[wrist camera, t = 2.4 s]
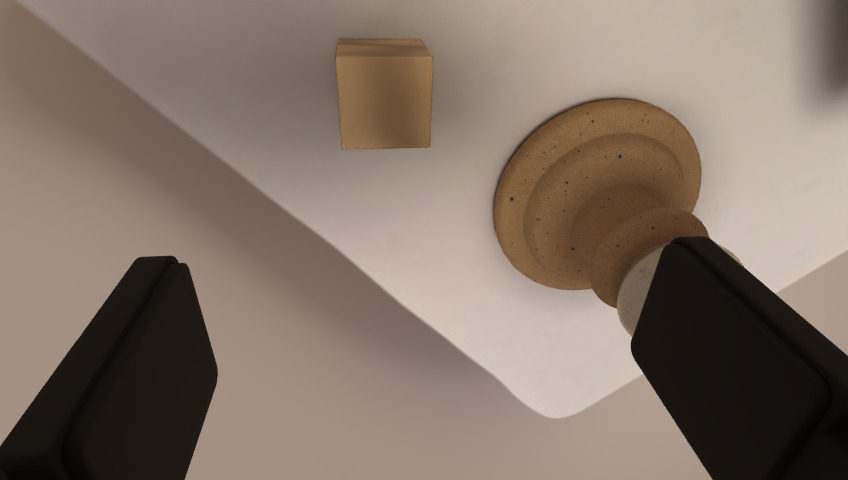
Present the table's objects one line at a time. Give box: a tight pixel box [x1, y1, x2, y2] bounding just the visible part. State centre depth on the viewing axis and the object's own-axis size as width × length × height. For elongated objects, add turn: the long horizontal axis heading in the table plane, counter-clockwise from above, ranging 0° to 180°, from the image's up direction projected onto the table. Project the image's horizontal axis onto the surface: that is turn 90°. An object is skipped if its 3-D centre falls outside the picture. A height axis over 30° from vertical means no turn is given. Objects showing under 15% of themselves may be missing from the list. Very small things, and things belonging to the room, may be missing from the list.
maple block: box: [335, 39, 433, 149], centre depth 22 cm, size 4×4×4 cm
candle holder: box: [494, 99, 744, 337], centre depth 20 cm, size 12×12×20 cm
